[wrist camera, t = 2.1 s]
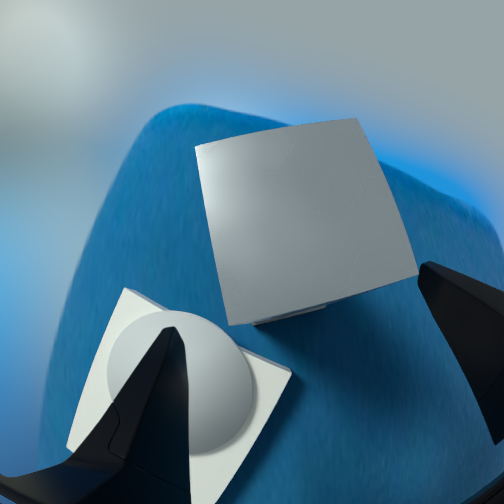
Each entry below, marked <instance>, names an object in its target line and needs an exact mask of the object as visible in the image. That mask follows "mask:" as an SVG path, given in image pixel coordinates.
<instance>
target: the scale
mask: <svg viewBox="0 0 504 504" xmlns="http://www.w3.org/2000/svg"><path fill="white" fill-rule="evenodd" d="M171 326H174V327H176V328H177V330H178V332H179V334H180V336H181V338H182V339H183V341H184V344H185V351H186V362H187V372H188V382H189V462H190V487H191V492H190V493H191V502H192V504H215V503H216V501H217V500H218V498H219V497H220V496H221V494H222V493H223V491H224V490H225V488H226V487H227V485H228V484H229V482H230V481H231V479H232V478H233V476H234V474H235V473H236V471H237V470H238V468H239V467H240V465H241V463H242V462H243V460H244V459H245V457H246V455H247V454H248V452H249V450H250V449H251V447H252V445H253V444H254V442H255V440H256V439H257V437H258V435H259V433H260V432H261V430H262V428H263V426H264V425H265V423H266V421H267V419H268V418H269V416H270V414H271V412H272V410H273V408H274V407H275V405H276V403H277V401H278V399H279V397H280V395H281V393H282V392H283V390H284V388H285V386H286V384H287V382H288V380H289V378H290V376H291V374H292V372H291V370H290V368H287V367H285V366H283V365H280V364H278V363H276V362H273V361H271V360H269V359H267V358H264V357H262V356H260V355H258V354H256V353H253V352H251V351H249V350H247V349H245V348H243V347H240V346H238V345H237V344H236V343H235V342H234V341H233V339H232V338H231V337H230V336H229V335H228V334H227V333H226V332H225V331H224V330H222V329H221V328H220V327H218V326H217V325H216V324H214V323H212V322H211V321H209V320H207V319H205V318H202V317H200V316H198V315H194V314H191V313H187V312H181V311H170V310H169V309H167V308H165V307H163V306H161V305H160V304H158V303H156V302H154V301H153V300H151V299H149V298H147V297H146V296H144V295H142V294H141V293H139V292H137V291H135V290H132V289H128V288H124V290H123V292H122V294H121V296H120V299H119V301H118V303H117V305H116V308H115V310H114V312H113V314H112V317H111V319H110V321H109V324H108V326H107V329H106V331H105V333H104V336H103V338H102V341H101V343H100V346H99V348H98V351H97V354H96V356H95V359H94V361H93V364H92V367H91V370H90V372H89V375H88V378H87V381H86V384H85V387H84V390H83V393H82V396H81V399H80V402H79V405H78V408H77V411H76V415H75V418H74V421H73V425H72V428H71V432H70V435H69V439H68V443H67V448H68V449H69V450H71V451H72V452H73V453H74V452H75V450H76V449H77V448H78V447H79V445H80V444H81V443H82V442H83V441H84V439H85V438H86V437H87V436H88V434H89V433H90V432H91V431H92V429H93V428H94V427H95V426H96V424H97V423H98V422H99V420H100V419H101V417H102V416H103V415H104V413H105V412H106V410H107V409H108V407H109V406H110V404H111V403H112V402H113V400H114V399H115V397H116V396H117V394H118V393H119V391H120V390H121V388H122V387H123V385H124V384H125V382H126V381H127V379H128V378H129V376H130V375H131V374H132V372H133V371H134V369H135V368H136V366H137V365H138V363H139V362H140V360H141V359H142V358H143V356H144V355H145V353H146V352H147V350H148V349H149V348H150V346H151V345H152V343H153V342H154V340H155V339H156V338H157V336H158V335H159V333H160V332H161V330H162V329H163V328H165V327H171ZM113 403H114V402H113Z"/></svg>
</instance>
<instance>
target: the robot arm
mask: <svg viewBox="0 0 504 504" xmlns="http://www.w3.org/2000/svg"><path fill="white" fill-rule="evenodd" d="M418 287H419V289H420V291H421V293H422V295H423V297H424V299H425V301H426V303H427V305H428V307H429V309H430V311H431V314H432V316H433V318H434V319H435V321H436V323H437V325H438V326H439V328H440V330H441V332H442V333H443V335H444V337H445V339H446V340H447V342H448V344H449V346H450V348H451V349H452V351H453V353H454V355H455V357H456V359H457V361H458V363H459V365H460V367H461V369H462V371H463V373H464V375H465V377H466V379H467V381H468V383H469V385H470V387H471V389H472V391H473V393H474V396H475V398H476V400H477V402H478V405H479V407H480V410H481V412H482V414H483V417H484V419H485V422H486V424H487V427H488V429H489V432H490V435H491V437H492V440H493V443H494V445H497V444H498V443H499V442H501V441H502V440H503V439H504V292H503V291H501V290H499V289H496V288H494V287H492V286H490V285H487V284H485V283H483V282H480V281H478V280H476V279H473V278H471V277H469V276H466V275H464V274H461V273H459V272H457V271H454V270H452V269H449V268H447V267H444V266H442V265H439V264H437V263H434V262H432V261H428V262H425V263H422V264H421V266H420V270H419V276H418ZM113 402H114V403H113ZM113 402H112V403H111V404H110V406H109V407H108V409H107V410H106V412H105V413H104V415H103V416H102V417H101V419H100V420H99V422H98V423H97V424H96V426H95V427H94V428H93V429H92V431H91V432H90V433H89V434H88V436H87V437H86V438H85V439H84V441H83V442H82V443H81V444H80V445H79V447H78V448H77V449H76V450H75V452H74V453H73V454H72V455H71V456H70V457H69V458H68V459H67V460H65V461H64V462H62V463H60V464H58V465H55V466H52V467H49V468H46V469H43V470H40V471H36V472H33V473H30V474H26V475H22V476H18V477H5V476H3V475H1V474H0V494H1V495H2V496H4V497H6V498H8V499H9V500H11V501H13V502H15V503H17V504H192V502H191V493H190V492H191V487H190V462H189V382H188V372H187V362H186V351H185V344H184V341H183V339H182V338H181V336H180V334H179V332H178V330H177V328H176V327H174V326H171V327H165V328H163V329H162V330H161V332H160V333H159V335H158V336H157V338H156V339H155V340H154V342H153V343H152V345H151V346H150V348H149V349H148V350H147V352H146V353H145V355H144V356H143V358H142V359H141V360H140V362H139V363H138V365H137V366H136V368H135V369H134V371H133V372H132V374H131V375H130V376H129V378H128V379H127V381H126V382H125V384H124V385H123V387H122V388H121V390H120V391H119V393H118V394H117V396H116V397H115V399H114V400H113ZM0 504H1V503H0ZM461 504H504V472H503V473H501V474H500V475H499V476H498V477H497V478H495V479H494V480H493V481H492V482H490V483H489V484H488V485H486V486H485V487H484V488H482V489H481V490H480V491H478V492H477V493H476V494H474V495H473V496H471V497H470V498H468V499H467V500H465V501H464V502H462V503H461Z"/></svg>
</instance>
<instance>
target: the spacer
mask: <svg viewBox="0 0 504 504" xmlns="http://www.w3.org/2000/svg"><path fill="white" fill-rule="evenodd" d="M195 150H196V156H197V162H198V168H199V174H200V180H201V186H202V192H203V198H204V203H205V209H206V214H207V220H208V225H209V230H210V236H211V241H212V246H213V251H214V256H215V261H216V266H217V271H218V276H219V281H220V286H221V291H222V296H223V300H224V305H225V310H226V314H227V319H228V323H229V326H232V325H241V324H249V323H252V325H253V326H254V325H258V324H262V323H267V322H271V321H275V320H279V319H284V318H288V317H292V316H296V315H300V314H303V313H307V312H311V311H315V310H319V309H322V308H326V306H325V305H328V304H331V303H334V302H338V301H341V300H344V299H347V298H351V297H354V296H357V295H360V294H363V293H366V292H369V291H372V290H375V289H378V288H381V287H384V286H387V285H390V284H393V283H396V282H398V281H401V280H404V279H407V278H410V277H412V276H415V275H418V274H419V272H418V269H417V265H416V262H415V258H414V255H413V252H412V249H411V246H410V242H409V239H408V236H407V233H406V230H405V228H404V225H403V222H402V219H401V216H400V214H399V211H398V208H397V206H396V203H395V200H394V198H393V195H392V193H391V190H390V188H389V186H388V183H387V181H386V178H385V176H384V174H383V172H382V169H381V167H380V165H379V163H378V160H377V158H376V156H375V154H374V152H373V150H372V148H371V146H370V143H369V142H368V140H367V137H366V136H365V133H364V131H363V130H362V128H361V126H360V124H359V122H358V120H357V118H353V119H342V120H333V121H325V122H317V123H309V124H302V125H295V126H289V127H283V128H277V129H272V130H266V131H261V132H256V133H251V134H246V135H241V136H236V137H232V138H227V139H223V140H219V141H215V142H211V143H207V144H203V145H199V146H195Z"/></svg>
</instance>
